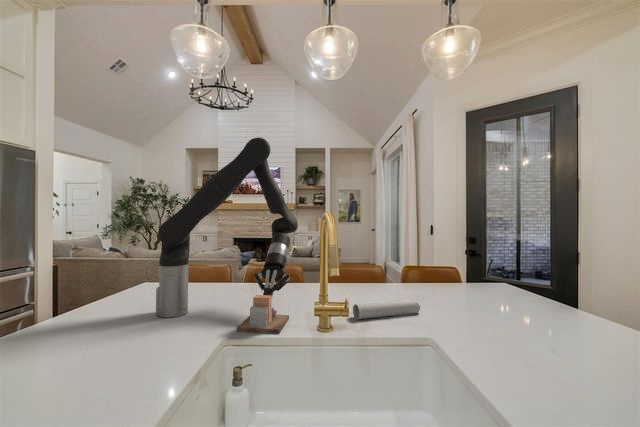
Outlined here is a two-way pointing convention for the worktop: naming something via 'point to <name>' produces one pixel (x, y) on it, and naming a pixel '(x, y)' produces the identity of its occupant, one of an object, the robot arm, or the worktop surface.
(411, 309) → the tube
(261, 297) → the orange tall block
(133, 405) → the worktop surface
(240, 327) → the brown wooden board
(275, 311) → the cable comb
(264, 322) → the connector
